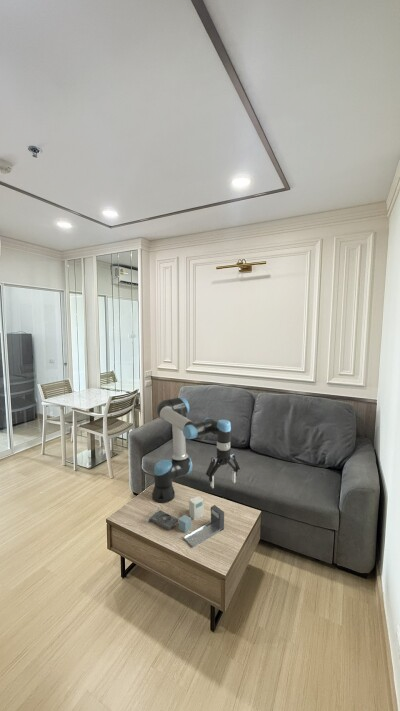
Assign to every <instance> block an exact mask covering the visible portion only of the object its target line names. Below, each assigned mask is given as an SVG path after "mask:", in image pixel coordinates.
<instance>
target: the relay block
mask: <svg viewBox="0 0 400 711" xmlns="http://www.w3.org/2000/svg"><path fill="white" fill-rule="evenodd" d="M191 529H192V517H191V516H188V515H186V514H184V515H182V516H181V517H179V518H178V530H180V531H181V532H182V533H184V534H187V532H189V531H190V530H191Z"/></svg>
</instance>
